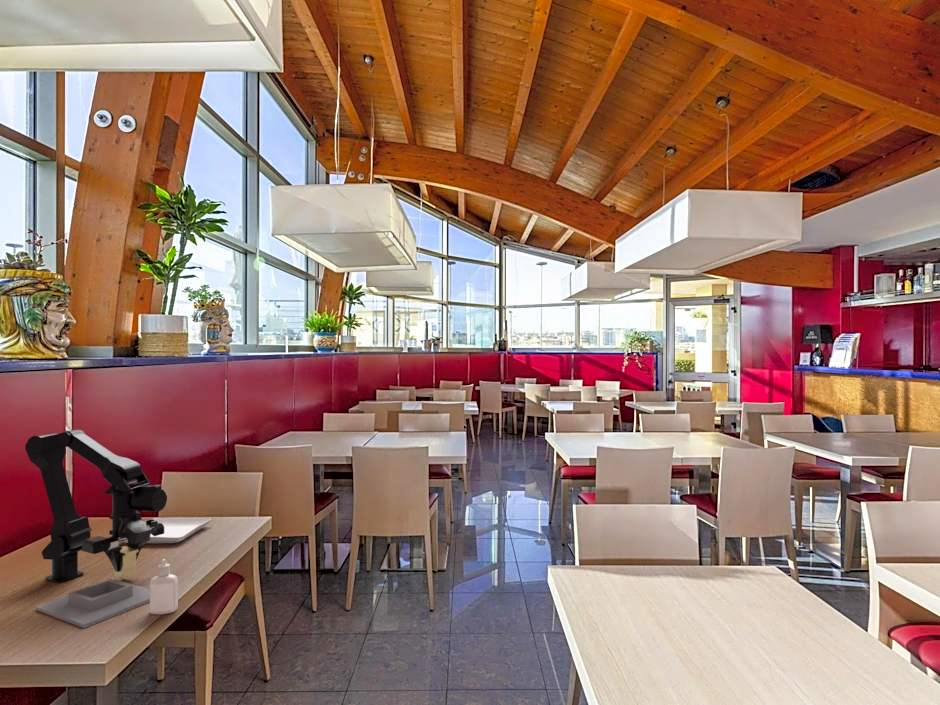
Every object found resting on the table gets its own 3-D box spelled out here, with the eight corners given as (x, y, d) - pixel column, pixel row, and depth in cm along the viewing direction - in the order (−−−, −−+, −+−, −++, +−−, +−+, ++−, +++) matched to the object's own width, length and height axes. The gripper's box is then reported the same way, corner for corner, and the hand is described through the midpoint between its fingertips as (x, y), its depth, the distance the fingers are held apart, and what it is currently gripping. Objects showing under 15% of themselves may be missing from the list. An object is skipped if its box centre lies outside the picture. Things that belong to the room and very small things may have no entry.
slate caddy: (35, 610, 129) (35, 595, 129) (115, 582, 145) (114, 569, 145) (83, 628, 120) (83, 613, 120) (162, 596, 136) (162, 583, 136)
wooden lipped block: (111, 575, 147) (111, 550, 147) (125, 570, 150) (125, 546, 150) (125, 579, 144) (125, 553, 144) (138, 574, 147) (138, 549, 147)
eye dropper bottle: (164, 617, 125) (164, 564, 125) (146, 613, 127) (146, 561, 127) (180, 609, 129) (180, 557, 129) (162, 605, 131) (162, 555, 131)
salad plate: (180, 547, 174) (180, 536, 174) (114, 547, 174) (114, 536, 174) (213, 526, 195) (213, 517, 195) (153, 527, 195) (153, 517, 195)
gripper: (106, 523, 135) (106, 587, 135) (177, 505, 152) (177, 562, 151) (80, 517, 140) (80, 579, 140) (151, 500, 157) (151, 556, 156)
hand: (125, 569), depth 147 cm, fingers closed on wooden lipped block, 3 cm apart
